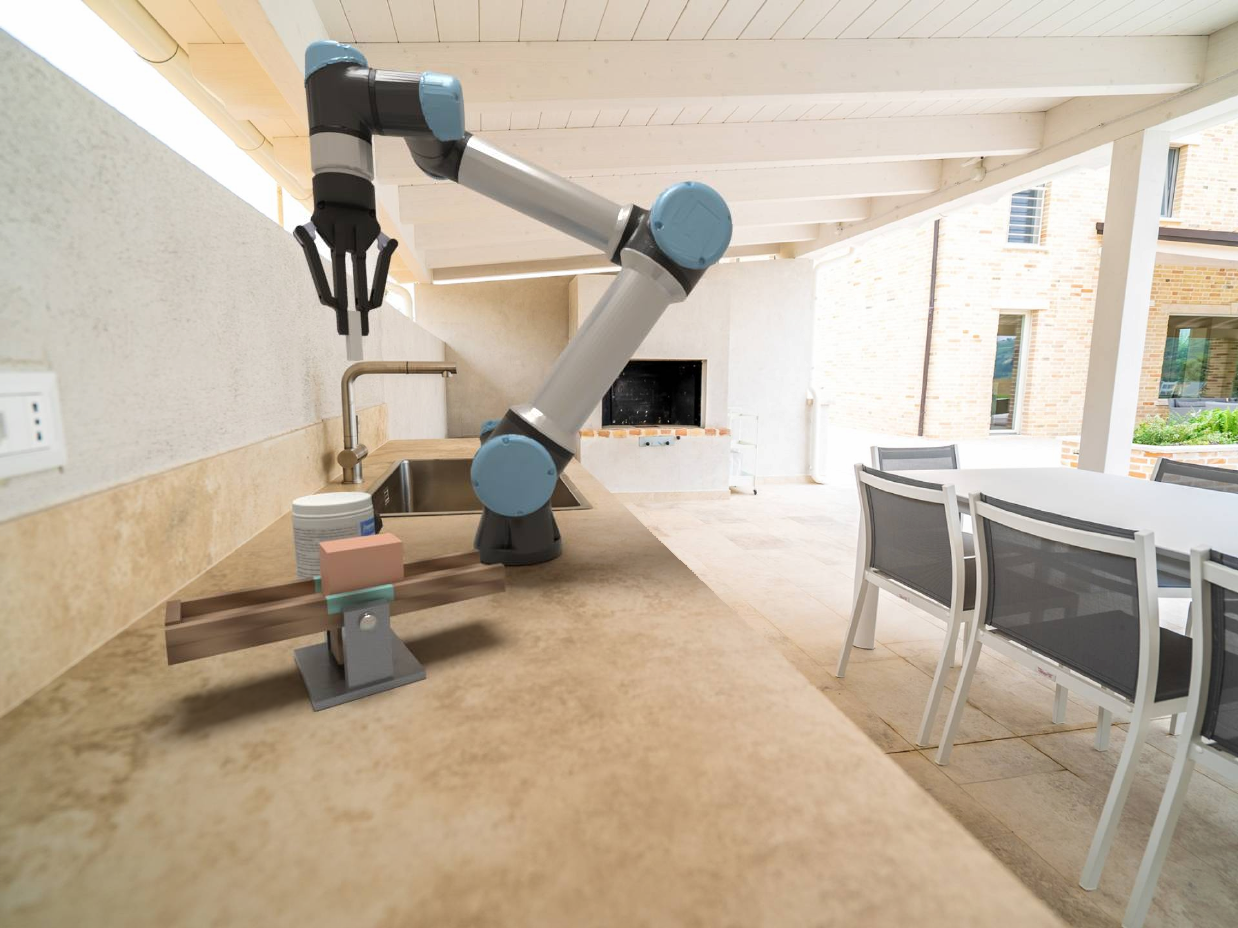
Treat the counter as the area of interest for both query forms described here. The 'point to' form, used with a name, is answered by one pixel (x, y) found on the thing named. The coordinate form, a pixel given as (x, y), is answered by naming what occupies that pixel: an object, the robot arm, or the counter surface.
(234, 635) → the beam
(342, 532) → the supplement tub
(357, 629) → the stand
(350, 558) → the block
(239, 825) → the counter surface
